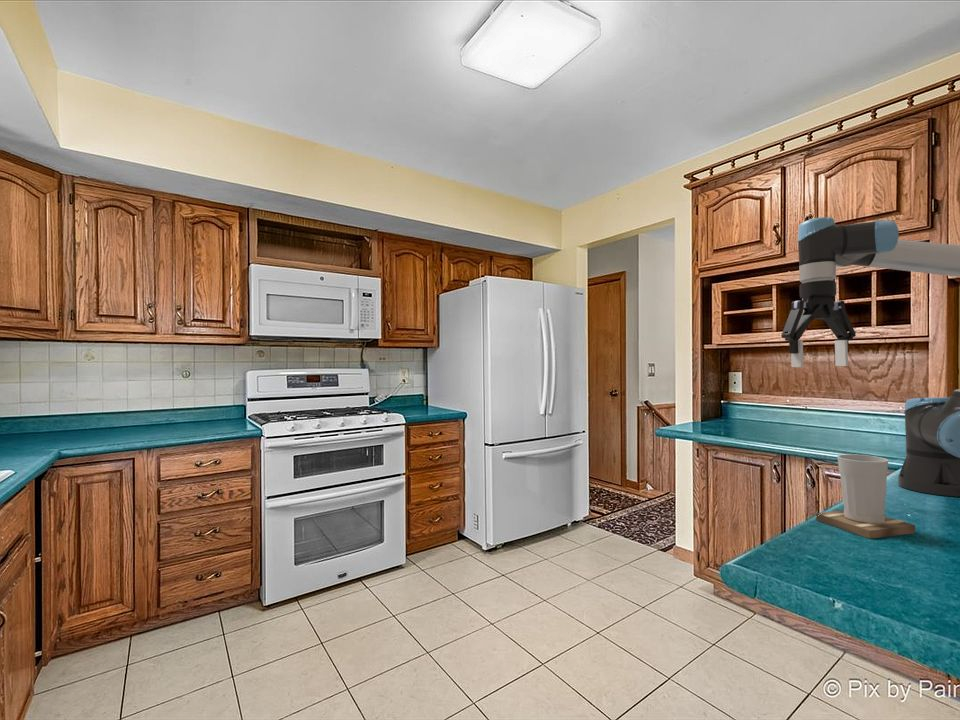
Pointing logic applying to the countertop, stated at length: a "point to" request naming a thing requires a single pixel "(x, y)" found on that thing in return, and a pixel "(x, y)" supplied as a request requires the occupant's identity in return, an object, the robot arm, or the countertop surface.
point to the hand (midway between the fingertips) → (819, 366)
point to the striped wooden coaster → (866, 525)
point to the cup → (863, 487)
